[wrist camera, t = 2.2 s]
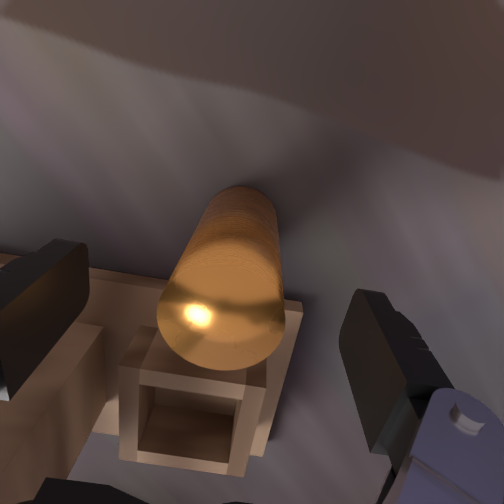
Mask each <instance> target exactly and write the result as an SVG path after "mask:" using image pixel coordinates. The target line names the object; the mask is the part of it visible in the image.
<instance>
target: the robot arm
mask: <svg viewBox="0 0 504 504" xmlns="http://www.w3.org/2000/svg"><path fill="white" fill-rule="evenodd" d="M89 293H90V282H89V262H88V249H87V246H86V244H84V243H81V242H75V241H69V240H63V239H54V240H52V241H51V242H50V243H48V244H47V245H46V246H44V247H43V248H41V249H40V250H39V251H37V252H32V253H29V254H26V255H24V256H21V257H18V258H16V259H13V260H11V261H10V262H9V263H7V264H6V265H4V266H3V267H1V268H0V400H4V401H10V400H11V399H12V398H13V396H14V395H15V394H16V393H17V391H18V390H19V389H20V388H21V386H22V385H23V384H24V383H25V381H26V380H27V379H28V378H29V377H30V375H31V374H32V373H33V372H34V370H35V369H36V368H37V367H38V365H39V364H40V363H41V362H42V360H43V359H44V358H45V357H46V356H47V354H48V353H49V352H50V351H51V349H52V348H53V347H54V346H55V344H56V343H57V342H58V341H59V339H60V338H61V337H62V336H63V334H64V333H65V332H66V331H67V330H68V328H69V327H70V326H71V325H72V323H73V322H74V321H75V320H76V318H77V317H78V316H79V315H80V313H81V312H82V311H83V310H84V308H85V306H86V304H87V302H88V298H89ZM421 338H422V337H421V335H420V334H419V332H418V331H417V329H416V327H415V326H414V324H413V323H412V322H410V321H409V320H408V319H407V318H406V317H405V316H404V315H402V314H401V313H400V312H397V311H395V310H394V308H393V306H392V305H391V303H390V301H389V300H388V298H387V296H386V295H385V294H384V293H382V292H376V291H370V290H364V289H357V290H356V291H355V293H354V295H353V297H352V300H351V303H350V305H349V308H348V311H347V313H346V316H345V319H344V322H343V324H342V327H341V330H340V335H339V349H340V353H341V356H342V359H343V363H344V366H345V369H346V373H347V376H348V380H349V383H350V386H351V390H352V393H353V396H354V400H355V403H356V407H357V410H358V413H359V417H360V420H361V424H362V427H363V430H364V434H365V437H366V440H367V444H368V447H369V451H370V453H375V454H382V455H389V458H390V461H391V464H392V465H391V467H390V468H389V470H388V472H387V474H386V476H385V479H384V481H383V483H382V486H381V488H380V490H379V493H378V495H377V497H376V500H375V502H374V504H504V425H503V424H502V422H501V421H500V419H499V418H498V417H497V416H496V415H495V413H494V412H492V411H491V410H490V409H489V408H488V407H487V406H486V405H485V404H483V403H482V402H480V401H479V400H478V399H476V398H474V397H473V396H471V395H469V394H467V393H464V392H462V391H459V390H456V389H455V388H454V387H453V385H452V384H451V382H450V381H449V379H448V377H447V376H446V374H445V373H444V371H443V370H442V368H441V366H440V365H439V363H438V362H437V360H436V359H435V357H434V356H433V354H432V352H431V351H429V348H428V346H427V345H426V343H425V341H424V340H422V339H421ZM16 504H148V503H146V502H144V501H142V500H140V499H138V498H135V497H133V496H131V495H129V494H127V493H125V492H122V491H120V490H118V489H116V488H114V487H112V486H110V485H103V484H96V483H88V482H80V481H72V480H64V479H57V478H49V477H46V478H45V480H44V482H43V483H42V485H41V487H40V489H39V491H38V492H37V494H36V496H35V498H34V500H28V501H24V502H20V503H16ZM224 504H251V503H243V502H230V503H224Z"/></svg>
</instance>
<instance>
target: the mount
mask: <svg viewBox="0 0 504 504" xmlns="http://www.w3.org/2000/svg"><path fill="white" fill-rule="evenodd" d="M18 257H21V256H17V255H11V254H5V253H0V268H1V267H3V266H4V265H6V264H7V263H9V262H10V261H11V260H13V259H16V258H18ZM168 281H169V280H164V279H158V278H152V277H146V276H139V275H133V274H127V273H121V272H115V271H109V270H103V269H97V268H91V267H89V282H90V293H89V298H88V302H87V304H86V306H85V308H84V310H83V311H82V312H81V313H80V315H79V316H78V317H77V318H76V320H75V321H74V322H73V323H72V325H71V326H70V327H69V328H68V330H67V331H66V332H65V333H64V334H63V336H62V337H61V338H60V339H59V341H58V342H57V343H56V344H55V346H54V347H53V348H52V349H51V351H50V352H49V353H48V354H47V356H46V357H45V358H44V359H43V360H42V362H41V363H40V364H39V365H38V367H37V368H36V369H35V370H34V372H33V373H32V374H31V375H30V377H29V378H28V379H27V380H26V381H25V383H24V384H23V385H22V386H21V388H20V389H19V390H18V391H17V393H16V394H15V395H14V396H13V398H12V399H11V400H10V401H4V400H0V504H16V503H20V502H24V501H28V500H34V498H35V496H36V494H37V492H38V491H39V489H40V487H41V485H42V483H43V482H44V480H45V478H46V477H49V478H57V479H64V480H66V479H67V477H68V475H69V473H70V471H71V469H72V468H73V466H74V464H75V462H76V460H77V458H78V456H79V454H80V452H81V450H82V448H83V446H84V444H85V442H86V441H87V439H88V437H89V435H90V433H91V432H98V433H105V434H111V435H118V436H119V459H120V460H127V461H134V462H141V463H148V464H155V465H162V466H169V467H176V468H183V469H190V470H197V471H204V472H210V473H217V474H224V475H231V476H238V477H244V474H245V470H246V466H247V462H248V458H249V455H255V456H262V457H263V454H264V450H265V446H266V443H267V439H268V436H269V432H270V429H271V425H272V422H273V418H274V415H275V411H276V408H277V404H278V401H279V397H280V394H281V390H282V387H283V383H284V380H285V376H286V373H287V369H288V366H289V362H290V359H291V355H292V352H293V348H294V345H295V341H296V338H297V334H298V331H299V327H300V324H301V320H302V316H303V307H302V302H298V301H292V300H286V299H284V306H285V318H286V321H285V331H284V334H283V337H282V339H281V341H280V343H279V345H278V346H277V348H276V349H275V350H274V351H273V352H272V353H271V354H270V355H269V356H268V357H267V358H265V359H264V360H262V361H261V362H259V363H257V364H255V365H252V366H250V367H246V368H243V369H238V370H213V369H208V368H204V367H201V366H198V365H196V364H193V363H191V362H189V361H187V360H185V359H184V358H182V357H181V356H180V355H178V354H177V353H176V352H175V351H174V350H173V349H172V348H171V347H170V346H169V345H168V344H167V342H166V341H165V340H164V338H163V336H162V334H161V332H160V329H159V326H158V322H157V306H158V302H159V299H160V296H161V294H162V292H163V290H164V289H165V287H166V285H167V283H168Z"/></svg>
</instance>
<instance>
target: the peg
mask: <svg viewBox="0 0 504 504" xmlns="http://www.w3.org/2000/svg"><path fill="white" fill-rule="evenodd" d="M285 321H286V318H285V306H284V294H283V282H282V270H281V258H280V246H279V234H278V222H277V214H276V211H275V208H274V206H273V204H272V203H271V201H270V200H269V199H268V198H267V197H266V196H265V195H264V194H262V193H261V192H259V191H257V190H255V189H253V188H249V187H243V186H236V187H231V188H227V189H225V190H223V191H221V192H219V193H218V194H217V195H216V196H214V198H213V199H212V200H211V201H210V203H209V204H208V206H207V208H206V210H205V212H204V214H203V216H202V218H201V220H200V222H199V224H198V225H197V227H196V229H195V231H194V233H193V235H192V237H191V239H190V241H189V243H188V245H187V247H186V248H185V250H184V252H183V254H182V256H181V258H180V260H179V262H178V264H177V266H176V268H175V269H174V271H173V273H172V275H171V277H170V279H169V281H168V283H167V285H166V287H165V289H164V290H163V292H162V294H161V296H160V299H159V302H158V306H157V322H158V326H159V329H160V332H161V334H162V336H163V338H164V340H165V341H166V342H167V344H168V345H169V346H170V347H171V348H172V349H173V350H174V351H175V352H176V353H177V354H178V355H180V356H181V357H182V358H184V359H185V360H187V361H189V362H191V363H193V364H196V365H198V366H201V367H204V368H208V369H213V370H238V369H243V368H246V367H250V366H252V365H255V364H257V363H259V362H261V361H262V360H264V359H265V358H267V357H268V356H269V355H270V354H271V353H272V352H273V351H274V350H275V349H276V348H277V346H278V345H279V343H280V341H281V339H282V337H283V334H284V331H285Z"/></svg>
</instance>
